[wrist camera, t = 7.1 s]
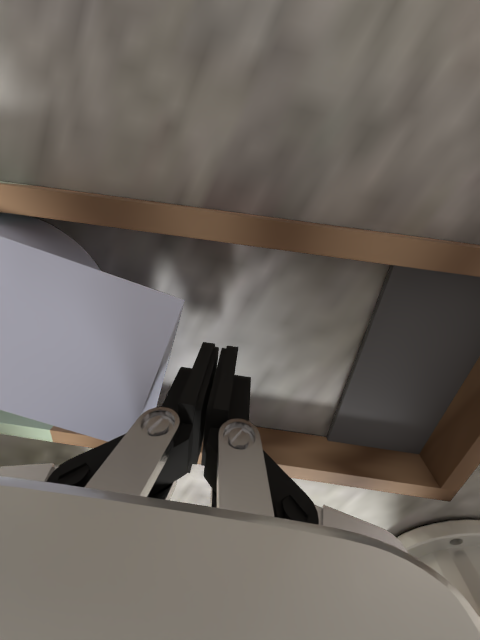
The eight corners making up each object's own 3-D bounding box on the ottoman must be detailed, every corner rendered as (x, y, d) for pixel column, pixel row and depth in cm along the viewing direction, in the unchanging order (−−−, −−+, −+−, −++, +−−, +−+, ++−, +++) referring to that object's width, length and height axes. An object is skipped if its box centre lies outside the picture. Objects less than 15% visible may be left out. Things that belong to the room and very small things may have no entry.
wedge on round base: (202, 277, 13) (-59, 184, 12) (151, 342, 7) (-384, 166, 6) (166, 402, 17) (-35, 339, 16) (112, 516, 11) (-220, 424, 10)
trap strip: (523, 274, 12) (529, 275, 12) (416, 450, 17) (418, 454, 17) (393, 256, 12) (397, 257, 12) (326, 437, 17) (327, 440, 17)
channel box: (558, 255, 11) (633, 268, 9) (425, 462, 17) (449, 501, 15) (35, 185, 12) (-19, 181, 10) (79, 411, 18) (52, 442, 15)
